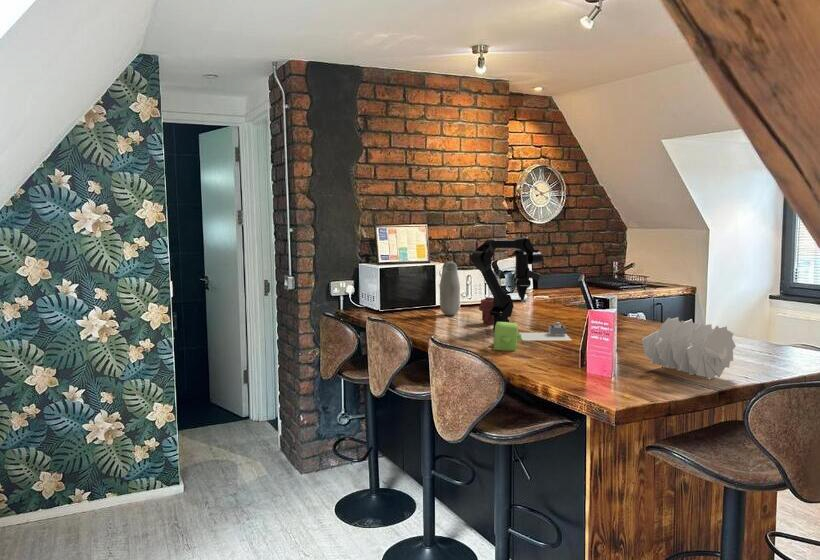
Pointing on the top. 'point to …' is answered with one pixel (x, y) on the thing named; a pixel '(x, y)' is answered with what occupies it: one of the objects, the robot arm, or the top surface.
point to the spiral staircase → (690, 347)
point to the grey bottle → (449, 289)
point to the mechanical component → (486, 310)
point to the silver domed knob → (557, 325)
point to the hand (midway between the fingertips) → (521, 298)
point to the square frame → (556, 330)
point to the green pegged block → (506, 336)
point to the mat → (544, 337)
